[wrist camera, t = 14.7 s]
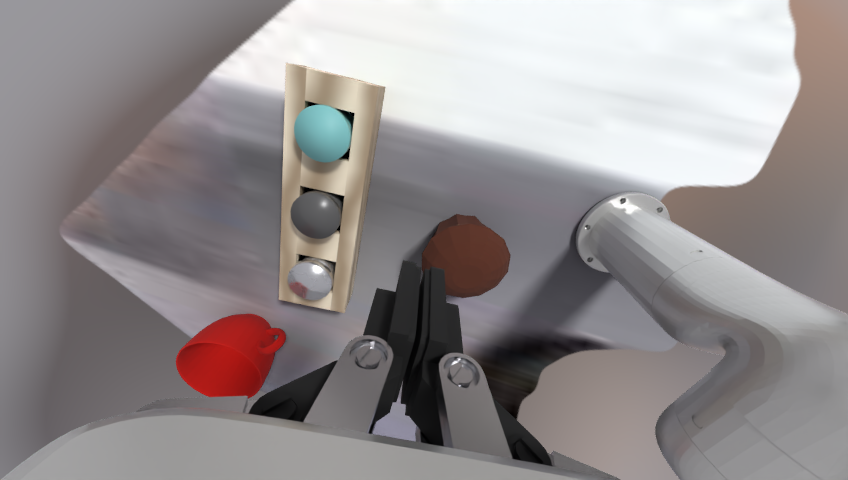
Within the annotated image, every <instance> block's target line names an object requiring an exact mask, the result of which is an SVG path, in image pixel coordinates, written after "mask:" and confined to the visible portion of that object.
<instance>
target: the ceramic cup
mask: <svg viewBox="0 0 848 480" xmlns="http://www.w3.org/2000/svg"><path fill="white" fill-rule="evenodd" d="M274 335H279V336H278V338H277V339H276V341H275V339H274ZM285 340H286V335H285V332H284V331H283V330H281V329H279V328H271V327H270V325H269V323H268V322H267V321H266V320H265V319H263V318H262V317H260V316H257V315H254V314H239V315H232V316H228V317H225V318H222V319H219V320H217V321H216V322H214V323H212V324H210V325H209V326H207V327H206V328H204V329H203V330H202V331H200V332H199V333H198V334H197V335H196V336H194V337H193V338H192V339H191V340H190V341H189V342H188V343H187V344H186V345H185V346H184V347H183V348H182V349H181V350H180V351H179V353H178V355H177V358H176V366H177V370H178V372H179V374H180V375H181V377H182V378H183V380H184V381H185V382H187V384H188V385H190V386H191V387H192V388H193V389H195V390H197V391H198V392H200V393H202V394H204V395H206V396H208V397H227V396H248V398H250V397H252V396H254V395H255V394H256V393H257V392H258V391H259V390H260V388H261V387H262V385H263V383H264V381H265V379H266V377H267V375H268V373H269V370H270V368H271V365H272V362H273V359H274V355H275V351H277V350H278V349H279V348H280V347H281V346H282V345H283V344H284V342H285Z"/></svg>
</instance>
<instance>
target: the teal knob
mask: <svg viewBox="0 0 848 480" xmlns="http://www.w3.org/2000/svg"><path fill="white" fill-rule="evenodd" d="M353 123H354V118H353V116H352V115H351V114H350V113H349V112H348V111H345V110H341V109H337V108H333V107H331V106H328V105H313V106H309V107H307V108H305V109H304V110H302V111H301V112H300V113H299V115H298V116H297V118H296V121H295V124H294V134H295V139H296V141H297V144H298V146H299V147H300V149H301V150H302V151H303V152H304V153H305V154H306V155H307V156H308V157H310V158H311V159H313V160H315V161H319V162H333V161H335V160H337V159H339V158H340V157H342V156H343V155H344V154H345V153H346V152H347V150H348V149H349V147H350V145H351V139H352V131H353Z"/></svg>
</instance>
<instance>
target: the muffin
mask: <svg viewBox="0 0 848 480" xmlns="http://www.w3.org/2000/svg"><path fill="white" fill-rule="evenodd" d="M509 261H510V253H509V251H508V248H507V246H506V243H505V241H504V239H503V238H501V237H500V236H499V235H498V234H496V233H495V232H494V231H492V230H491V229H490V228H488V227H486V226H485V225H483V224H482V223H481V222H480V221H479V220H478V219H477V218H476V217H475V216H464V215H459V214H456V215H454V216H452V217H451V218H449V219H447V220H445V221H442V222H440V223H439V226H438V228H437V231H436V232H435V234H434V235H433V237H432V238H431V240H430V242H429V243H428V245H427V247H426V248H425V250H424V251H423V253H422V271H423V273H424V270H425V269H428V270H429V269H430V267H431V266H432V267H436V268H441V269H444V271H445V290H446V295H451V296H456V297H461V298H466V297H472V296H479V295H481V294H483V293H485V292H487V291H489V290H491V289H493V288H494V287H496V286H497V285H498V284H499V282H500V281H501V280H502V279H503V277H504V276H505V275H506V273H507V272H508V267H509Z"/></svg>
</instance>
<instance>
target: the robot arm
mask: <svg viewBox="0 0 848 480" xmlns="http://www.w3.org/2000/svg"><path fill="white" fill-rule="evenodd" d="M576 248H577V251H578V254H579V255H580V257H581V258H582V259H583V261H584V262H585V263H586V264H587V265H589V266H590V267H591V268H593V269H596V270H598V271H602V272H607V273H611V275H612V276H613V277H614V278H615V279H616V280H617V281H618V282H619V283H620V284H621V285H622V286H623V287H624V288H625V289H626V291H627V292H628V293H629V294H630V295H631V296H632V297H633V298H634V299H635V300H636V301H637V302H638V303H639V304H640V305H641V307H642V308H643V309H644V310H645V311H646V312H647V313H648V314H649V315H650V316H651V317H652V318H653V319H654V320H655V321H656V322H657V323H658V324H659V325H660V327H661V328H662V329H663V330H664V331H665V332H666V333H667V334H669V335H670V336H671V337H672V338H674V339H675V340H677V341H678V342H680V343H682V344H684V345H686V346H689V347H691V348H694V349H698V350H701V351H704V352H709V353H714V354H719V355H725V356H724V357H723V359H722V360H721V361H720V362H719V363H718V364H717V365H716V366H715V367H713V368H712V369H711V371H710V372H709V373H708V374H707V375H705V376H704V377H703V378H702V379H701V380H699V381H698V382H697V383H696V384H695V385H693V386H692V387H691V388H690V389H688V390H687V391H686V392H685V393H684V394H683V395H681V396H680V397H679V398H678V399H677V400H675V401H674V402H673V403H672V404H671V405H669V406H668V407H667V408H666V409H665V410H664V412H663V413H662V414H661V415H660V416H659V418H658V420H657V423H656V427H655V435H656V439H657V443H658V445H659V448H660V450H661V452H662V454H663V456H664V458H665V459H666V461H667V463H668V464H669V466H670V467H671V468H672V470H673V471H674V472H675V474H676V475H677V476H678V478H679V479H680V480H848V314H846V313H844V312H841V311H839V310H837V309H834V308H832V307H830V306H827V305H825V304H823V303H820V302H819V301H816V300H814V299H812V298H810V297H808V296H805V295H803V294H801V293H799V292H797V291H795V290H793V289H791V288H789V287H787V286H785V285H783V284H781V283H779V282H777V281H775V280H774V279H772V278H770V277H768V276H766V275H764V274H762V273H761V272H759V271H757V270H755V269H754V268H752V267H750V266H748V265H747V264H745V263H743V262H741V261H739V260H738V259H736V258H734V257H732V256H731V255H729V254H727V253H725V252H723V251H722V250H720V249H718V248H717V247H715V246H713V245H711V244H710V243H708V242H706V241H704V240H702V239H701V238H699V237H697V236H696V235H694V234H692V233H690V232H689V231H687V230H685V229H683V228H682V227H680V226H678V225H676V224H675V223H673V222H671V221H670V217H669V213H668V211H667V209H666V207H665V206H664V205H663V204H662V203H661V202H660V201H659V200H657V199H656V198H654V197H652V196H650V195H648V194H644V193H640V192H626V193H620V194H616V195H613V196H611V197H608V198H606V199H604V200H602V201H601V202H599V203H598V204H596V205H595V206H594V207H593V208H592V209H591V210H590V211H589V212H588V213H587V214H586V215H585V217H584V218H583V219H582V221H581V223H580V225H579V227H578V230H577V233H576ZM420 274H421V268H419V267H416V263H413V262H409V261H404V260H403V263H402V267H401V271H400V275H399V280H398V284H397V288H396V292H393V291H388V290H383V289H379V288H377V290H376V293H375V296H374V300H373V303H372V307H371V310H370V314H369V317H368V321H367V324H366V327H365V331H364V334H363V336H359V337H356V338H354V339H353V340H351V341H350V342H349V343H348V344H347V346H346V347H345V349H344V351H343V352H342V354H341V356H340V358H339V360H337V361H334V362H332V363H330V364H328V365H326V366H324V367H322V368H320V369H317V370H315V371H313V372H311V373H309V374H307V375H305V376H303V377H300V378H298V379H296V380H294V381H292V382H290V383H288V384H286V385H283V386H281V387H279V388H277V389H275V390H273V391H271V392H269V393H267V394H265V395H264V396H262V397H260V398H259V399H258V400H248V396H227V397H202V398H201V397H199V398H170V399H163V400H157V401H155V402H152V403H150V404H147V405H145V406H143V407H142V408H140V409H139V410H137V411H136V412H133V413H128V414H122V415H118V416H114V417H110V418H106V419H102V420H99V421H96V422H93V423H90V424H87V425H85V426H82V427H80V428H77V429H75V430H72V431H70V432H69V433H67V434H65V435H63V436H61V437H59V438H58V439H56V440H54V441H53V442H51V443H49V444H48V445H46V446H45V447H43V448H42V449H40V450H39V451H37V452H36V453H35V454H33V455H32V456H31V457H29V458H28V459H26V460H25V461H24V462H22V463H21V464H20V465H18V466H17V467H16V468H15V469H13V470H12V471H11V472H10V473H9V474H7V475H6V476H5V477H3V478H2V479H1V480H620V479H618V478H617V477H614V476H612V475H610V474H607V473H605V472H602V471H600V470H598V469H595V468H593V467H591V466H588V465H586V464H583V463H581V462H579V461H576V460H574V459H572V458H569V457H566V456H564V455H562V454H560V453H557V452H555V451H553V452H552V453H551V454H549V453H547V452H546V450H545V448H544V447H543V446H542V445H541V444H540V443H539V442H538V440H537V439H535V438H534V437H533V436H532V435H531V434H530V433H529V432H528V431H527V430H526V429H525V428H524V427H523V426H522V425H521V424H520V423H519V422H518V421H517V420H516V419H515V418H514V417H513V416H512V415H511V414H510V413H509V412H507V411H506V410H505V409H504V408H503V407H502V406H501V405H500V404H499V403H498V402H497V401H496V400H495V399H494V398H493V397H492V396H491V393H490V390H489V387H488V384H487V381H486V377H485V374H484V372H483V370H482V368H481V366H480V365H479V364H478V363H477V362H476V361H475V360H474V359H472V358H471V357H469V356H467V355H465V354H463V345H462V336H461V327H460V317H459V308H458V306H457V305H454V304H450V303H446V290H445V271H444V269H441V268H436V267H432V266H431V267H430V269H429V270H428V269H425V270H424V273H423V277H422V280H421V284H420ZM402 381H403V385H402V394H401V404H406V412H405V415H407V416H410V418H411V419H412V420H413V421H414V423H415V424H416V425H417V426H416V432H415V436H416V442H414V441H409V440H403V439H397V438H392V437H386V436H380V435H374V434H373V431H374V428H375V425H376V422H377V421H378V420H379V419H381V418H382V417H384V416H385V415H387V414H388V413H390V409H391V406H392V402H396V401H397V398H398V395H399V391H400V388H401V384H402Z"/></svg>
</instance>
